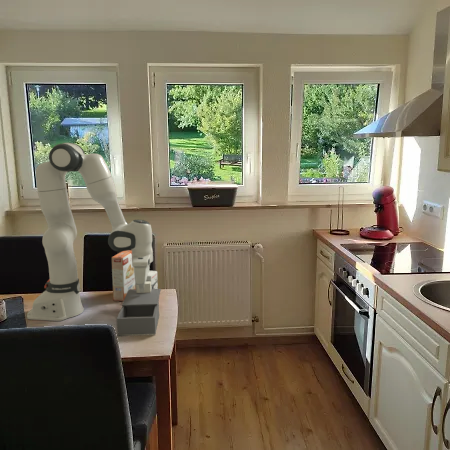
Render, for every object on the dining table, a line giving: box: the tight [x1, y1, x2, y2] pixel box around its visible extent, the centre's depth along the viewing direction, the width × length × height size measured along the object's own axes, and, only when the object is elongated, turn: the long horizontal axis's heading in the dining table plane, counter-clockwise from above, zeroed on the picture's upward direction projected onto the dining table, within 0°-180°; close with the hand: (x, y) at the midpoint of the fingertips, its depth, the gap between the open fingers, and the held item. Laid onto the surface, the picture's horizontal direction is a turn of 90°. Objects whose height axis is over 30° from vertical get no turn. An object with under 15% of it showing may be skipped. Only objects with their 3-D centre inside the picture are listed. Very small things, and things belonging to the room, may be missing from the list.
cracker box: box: [111, 250, 136, 302], centre depth 195 cm, size 14×6×21 cm, turn 170°
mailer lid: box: [121, 281, 162, 307], centre depth 174 cm, size 14×18×5 cm
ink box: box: [147, 270, 159, 289], centre depth 195 cm, size 8×5×12 cm, turn 168°
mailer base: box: [116, 300, 160, 337], centre depth 164 cm, size 14×18×7 cm
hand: (143, 288), depth 180 cm, fingers open, 8 cm apart
